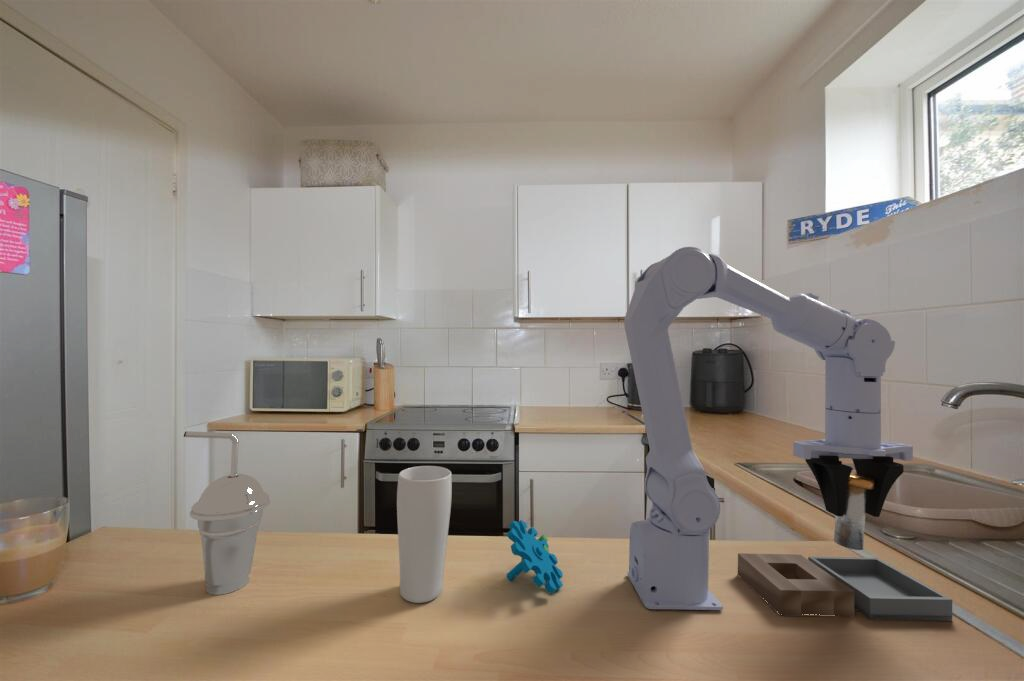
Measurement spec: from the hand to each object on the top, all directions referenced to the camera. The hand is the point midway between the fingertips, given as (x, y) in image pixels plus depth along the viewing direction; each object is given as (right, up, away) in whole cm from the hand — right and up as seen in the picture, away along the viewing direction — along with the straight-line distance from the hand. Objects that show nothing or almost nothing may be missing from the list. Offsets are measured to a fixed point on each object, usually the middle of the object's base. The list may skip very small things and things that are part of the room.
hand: (852, 513), depth 54 cm
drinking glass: (-56, -9, -2) cm, 57 cm away
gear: (-42, -10, +1) cm, 43 cm away
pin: (-1, -4, 0) cm, 4 cm away
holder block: (-8, -10, 0) cm, 13 cm away
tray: (+3, -11, 0) cm, 11 cm away
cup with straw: (-81, -8, -2) cm, 82 cm away
